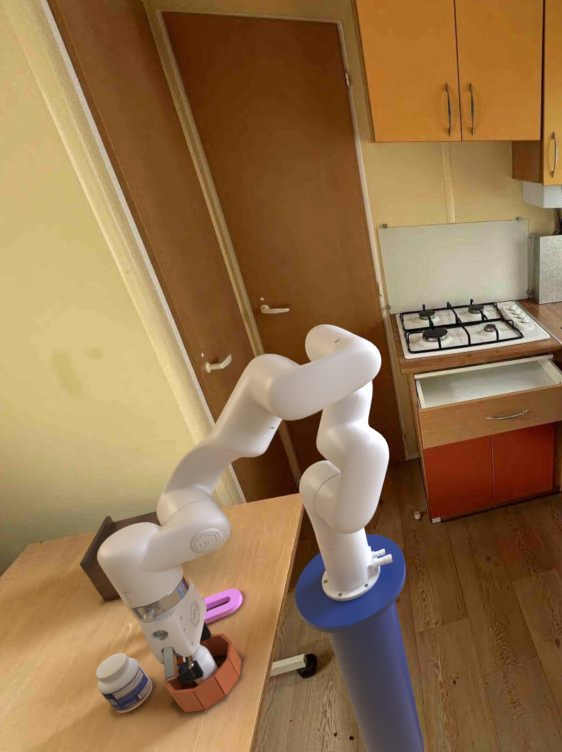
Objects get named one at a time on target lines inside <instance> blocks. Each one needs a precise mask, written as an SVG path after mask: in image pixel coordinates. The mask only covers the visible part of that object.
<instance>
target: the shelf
mask: <svg viewBox="0 0 562 752" xmlns="http://www.w3.org/2000/svg"><path fill="white" fill-rule="evenodd" d="M142 522H149V523H154V524H156V525H158V526H161V524H160V522H159V520H158V517H157V511H152V512H149V513H148V512H147V513H143V514H139V515H135V516H132V517H127V518H124V519H120V520H115V521H114V520H113V518H112V516H110V515H107V516H105V518H104V519H103V520H102V523H101V525H100V526H99V528H98V530H97V532H96V534H95V535H94V537H93V539H92V541H91V542H90V545H89V546H88V548H87V550H86V551H85V553H84V555H83V557H82V559H81V560H80V562H79V566H80V567H81V569H82V570H83V572H84V574H85V575H86V576H87V577H88V579H89V580H90V582H91V583H92V585H93V586H94V588H95V589H96V591H97V592H98V594H99V596H100V597H101V598H102V600H103V602H108V601H111V600H115V599H118V598H121V597H120V595H119V594H118V592H117V591H116V589H115V588H114V586H113V585H112V583H111V582H110V580H109V578H108V577H107V575H106V574H105V572H104V571H103V569H102V568H101V566H100V564H99V562H98V559H97V554H98V550H99V548H100V546H101V545H102V543H103V542H104V541H105V540H106V539H107V538H108V537H110V536H111V535H112V534H114V533H115V532H117V531H119V530H120V529H122V528H124V527H127V526H130V525H133V524H136V523H142Z"/></svg>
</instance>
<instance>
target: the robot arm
mask: <svg viewBox="0 0 562 752" xmlns="http://www.w3.org/2000/svg"><path fill="white" fill-rule="evenodd" d="M304 342H305V343H304V347H305V352H306V356H307V357H308V360H309V361H310V362H307V363H304V364H299V363H297V362H296V361H294V360H292V359H290V358H288V357H286V356H283V355H280V354H276V353H264V354H261V355H258V356H256V357H254V358H253V359H251V360H250V362H249V363H248V364H247V366H245V368H244V370H243V372H242V374H241V376H239V379H238V381H237V383H236V385H235V387H234V389H233V390H232V392H231V394H230V396H229V398H228V400H227V402H226V404H225V406H224V407H223V409H222V411H221V413H220V415H219V416H218V417H217V420H216V422H215V424H214V426H213V427H212V429H211V431H210V432H209V434H208V435H207V436H206V437H205V438H203V439H202V440H200V441H198V443H197V444H195V445H194V446H193V447H192V448H191V449H190V450H189V451H188V452H187V453H186V454H185V455H184V456H183V457H182V458H181V459H180V460H179V461H178V462H177V464H176V465H175V467H174V469H173V470H172V473H171V474H170V476H169V477H168V480H167V481H166V483H165V485H164V487H163V489H162V491H161V493H160V495H159V497H158V501H157V503H156V511H157V517H158V520H159V522H160V524H161V526H158V525H156V524H154V523H149V522H142V523H136V524H133V525H130V526H127V527H124V528H122V529H120V530H119V531H117V532H115V533H114V534H112V535H111V536H110V537H108V538H107V539H106V540H105V541H104V542H103V543H102V545H101V546H100V548H99V550H98V554H97V559H98V562H99V564H100V566H101V568H102V569H103V571H104V572H105V574H106V575H107V577H108V578H109V580H110V582H111V583H112V585H113V586H114V588H115V589H116V591H117V592H118V594H119V595H120V597H119V598H120V599H121V600H122V601H123V603H124V605H125V606H126V608H127V609H128V611H129V613H130V614H131V616H132V617H133V619H135V620H136V621H139V626H140V628H141V632H142V634H143V637H144V639H145V641H146V644H147V646H148V647H149V649H150V651H151V653H152V655H153V656H154V658H155V659H156V660H157V662H158V663H159V664H160V665H162V666H163V672H164V680H165V681H169V680H171V679H174V678H176V677H177V679H178V680H179V682H180V683H181V684H183V685H186V684H189V683H192V682H195V681H194V680H196V679H198V678H201V677H203V674H204V672H203V670H202V669H201V667H200V665H199V663H198V662H197V660H194V661H193V657H192V655H193V654H194V653H195V652H196V650H197V649H198V646H199V642H202V641H204V640H207V639H209V638H210V637H211V634H212V632H211V631H210V628H209V627H208V624H206V623H205V622H204V620H205V615H206V612H207V610H206V608H207V607H206V602H205V601H204V597H203V596H202V594H201V591H200V590H199V589H198V587H197V586H196V585H195V583H194V582H193V581H192V580H191V578H190V577H189V576H188V575H187V573H186V572H185V570H184V568H183V566H182V565H183V564H185V563H188V562H191V561H193V560H196V559H199V558H202V557H204V556H207V555H209V554H211V553H213V552H215V551H216V550H218V549H219V548H221V547H222V546H223V545H224V544H225V543H226V542H227V541H228V539H229V537H230V536H231V533H232V524H231V522H230V520H229V518H228V517H227V515H226V514H225V512H224V511H223V509H222V508H221V507H220V505H219V503H218V502H217V501H216V500H215V498H214V497H213V496H212V495H213V492H214V490H215V488H216V486H217V485H218V482H219V481H220V479H221V477H222V476H223V473H224V472H225V471H226V470H227V468H228V467H229V466H230V465H231V464H232V463H233V462H235V461H236V460H238V459H241V458H256V457H259V456H261V455H263V454H264V453H265V452H266V451H267V449H268V448H269V446H270V444H271V442H272V440H273V438H274V436H275V434H276V432H277V431H278V429H279V427H280V424H281V422H282V420H284V421H296V420H301V419H305V418H306V417H310V416H312V415H315V414H317V413H319V412H321V411H322V413H321V418H320V422H319V426H318V430H317V435H316V441H315V443H316V449H317V451H318V452H319V453H320V455H321V456H323V458H324V459H325V460H320V461H317V462H314V463H313V464H311V465H310V466H309V467H307V468H306V469H305V470H304V472H303V474H302V476H301V477H300V480H299V486H298V491H299V496H300V500H301V501H302V504H303V507H304V509H305V511H306V513H307V516H308V518H309V520H310V523H311V525H312V528H313V531H314V534H315V539H316V542H317V545H318V549H319V553H320V552H321V555H322V559H323V562H324V566H325V569H326V571H325V572H324V575H323V578H322V587H323V590H324V592H325V594H326V595H327V596H328V597H329V598H331V599H333V600H337V601H347V600H352V599H355V598H357V597H359V596H361V595H363V594H364V593H366V592H367V591H368V590H369V589H371V587H372V586H373V585H374V584H375V582H376V581H377V579H378V577H379V573H380V566H382V565H386V564H389V563H392V562H393V561H392V556H391V554H389V555H386V554H385V549H382V550H379V551H377V552H374V551H373V552H371V547H370V546H369V547H368V543H367V539H366V534H367V533H366V530H365V527H366V526H367V525H368V524H369V523H370V521H371V520H372V519H373V517H374V515H375V513H376V511H377V507H378V504H379V501H380V497H381V494H382V489H383V485H384V481H385V477H386V473H387V470H388V465H389V460H390V449H389V446H388V443H387V441H386V439H385V438H384V437H383V435H382V434H381V433H379V432H378V431H376V430H375V429H374V428H372V427H370V424H369V415H370V410H371V405H372V400H373V399H372V398H373V380H374V379H375V377H376V376H377V375H378V373H379V372H380V369H381V366H382V357H381V356H382V355H381V354H380V350H379V349H378V348H377V346H376V345H374V344H373V342H371V341H369V340H368V339H366V338H364V337H361V336H359V335H358V334H357V335H356V334H354V333H353V332H351V331H349V330H347V329H344V328H342V327H340V326H337V325H333V324H327V323H325V324H318V325H315V326H314V327H313V328H311V329H310V330H309V331H308V333H307V335H306V337H305V341H304ZM383 555H386V556H384V557H381V558H378V559H377V557H379V556H383ZM181 657H185V660H186V662H183V663H181V664H178V665H177V659H178V658H181Z"/></svg>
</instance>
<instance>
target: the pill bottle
mask: <svg viewBox="0 0 562 752" xmlns="http://www.w3.org/2000/svg"><path fill="white" fill-rule="evenodd" d="M95 676H96V678H97V679H98V682H97V689H98V692H99V693H101V695H102V696H103V698H104V699H105V700H106V701H107V702H108V703H109V705H110V706H111V707H112V708H113V709H114V710H115V712H117V713H121V714H122V713H129V712H131V711H133V710H134V709H137V708H138V707H140V705H142V704H143V703H144V702H145V701H146V700H147V698H148V697H149V695H150V694H151V692H152V689H153V682H152V680H151V679H150V677H149V675H148V674H147V672H146V671H145V670H144V669H143V667H142V665H141V664H140V662H139V661H138V660H137V659H136V658H134V657H128V656H127V655H126V653H124V652H117V653H115V654H112V655H110V656H109V657H107V658H106V659H105V660H103V661H102V662H101V663H100V664H99V666H98V667H97V669H96V671H95Z"/></svg>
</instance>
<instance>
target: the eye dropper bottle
mask: <svg viewBox="0 0 562 752" xmlns="http://www.w3.org/2000/svg"><path fill="white" fill-rule="evenodd" d="M192 657H193V661H194V660H197V662H198V663H199V665H200V667H201V669H202V670H203V672H204V674H203V677H201V678H198V679H196V680H194V681H193V682H195V684H196V687H197V686H198V685H200V684H202V683H203V682H205V681H206V680H208V679H209V678H211V677H213V676H214V675H215V673H216V672H217V671H218V669H219V668H220V667H219V666H218V665H217V663H216V661H215V659H214V657H212V656H211V654H210V652H209V651H208V649H207V648H206V647H204V646H202V645H200V643H199V646H198V649H197V650H196V652H195V653H194V654H193V655H192ZM183 662H186V660H185V657H183Z"/></svg>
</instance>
